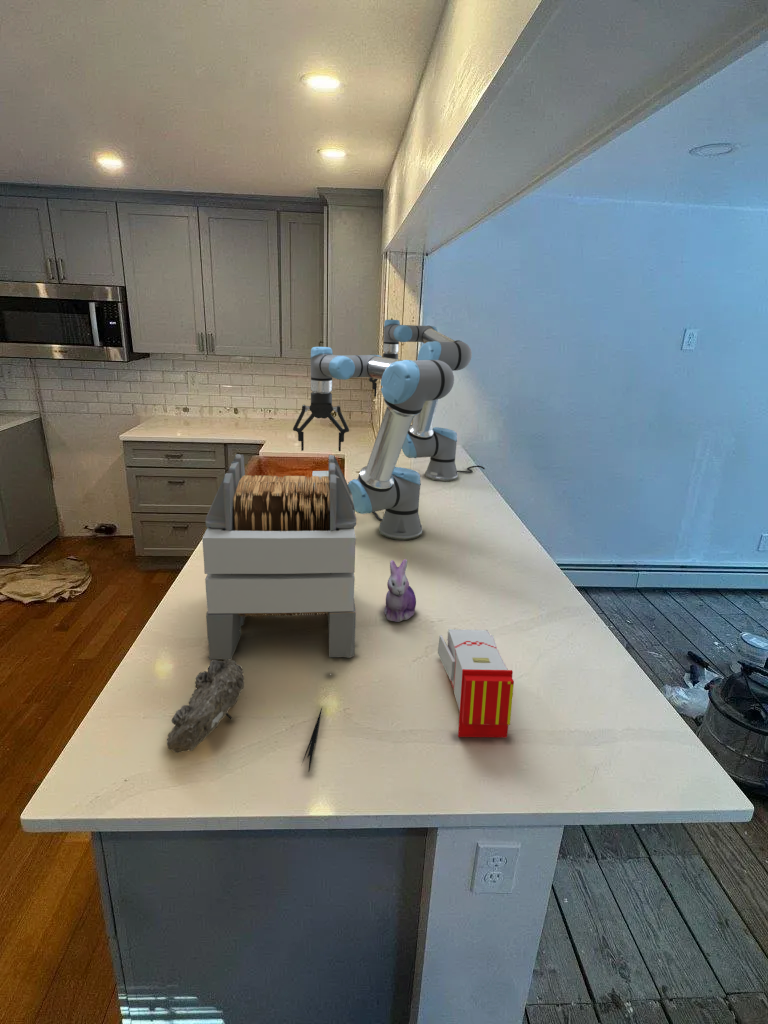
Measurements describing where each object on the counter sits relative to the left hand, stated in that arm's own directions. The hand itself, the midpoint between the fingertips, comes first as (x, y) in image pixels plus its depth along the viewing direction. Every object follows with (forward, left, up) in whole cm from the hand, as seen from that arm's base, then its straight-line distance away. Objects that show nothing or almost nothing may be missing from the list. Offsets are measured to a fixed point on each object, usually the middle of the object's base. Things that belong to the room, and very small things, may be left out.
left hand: (321, 450), depth 209 cm
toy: (+108, -37, -24) cm, 116 cm away
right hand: (-47, +73, +8) cm, 87 cm away
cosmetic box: (0, 0, -24) cm, 24 cm away
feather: (+95, -66, -24) cm, 119 cm away
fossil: (+82, -82, -24) cm, 119 cm away
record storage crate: (+61, -52, -24) cm, 84 cm away
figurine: (+75, -27, -24) cm, 83 cm away
